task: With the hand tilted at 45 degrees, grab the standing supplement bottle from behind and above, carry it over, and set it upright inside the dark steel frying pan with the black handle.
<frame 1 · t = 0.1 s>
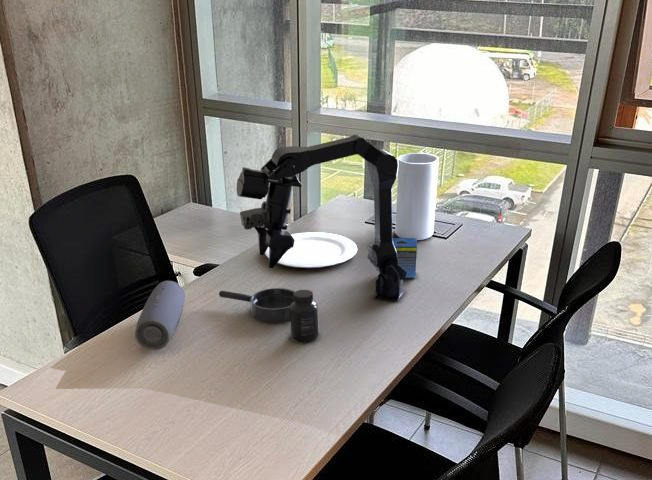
hand: (266, 261, 183), 15 cm above the table, tool pointing down, fingers open, 9 cm apart
bluetooth speaker: (164, 333, 185), on the table
supplement bottle: (304, 337, 180), on the table
cylinder vase: (414, 234, 239), on the table
pan: (275, 312, 192), on the table
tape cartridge: (400, 276, 211), on the table
plate: (311, 254, 227), on the table
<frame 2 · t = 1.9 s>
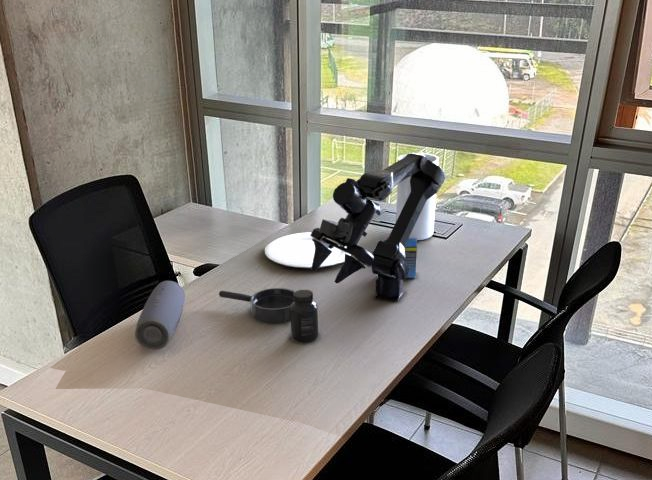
hand: (324, 276, 178), 14 cm above the table, tool tilted 40°, fingers open, 9 cm apart
nothing on the table moved.
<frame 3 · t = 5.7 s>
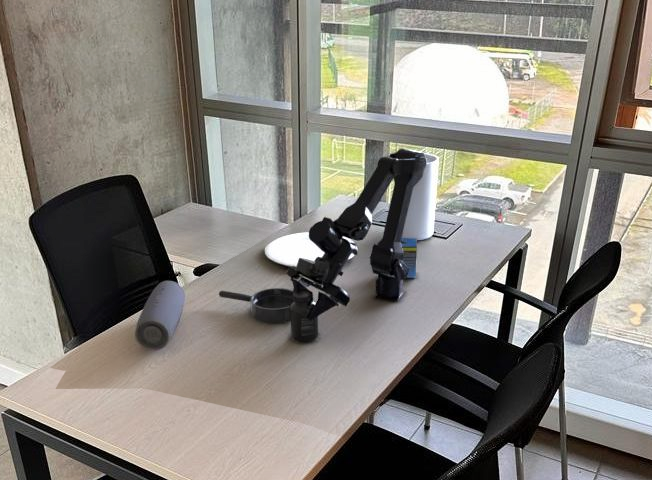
hand: (299, 315, 176), 7 cm above the table, tool tilted 45°, fingers closed on supplement bottle, 7 cm apart
supplement bottle: (304, 337, 180), on the table, touching gripper
everything else where it was.
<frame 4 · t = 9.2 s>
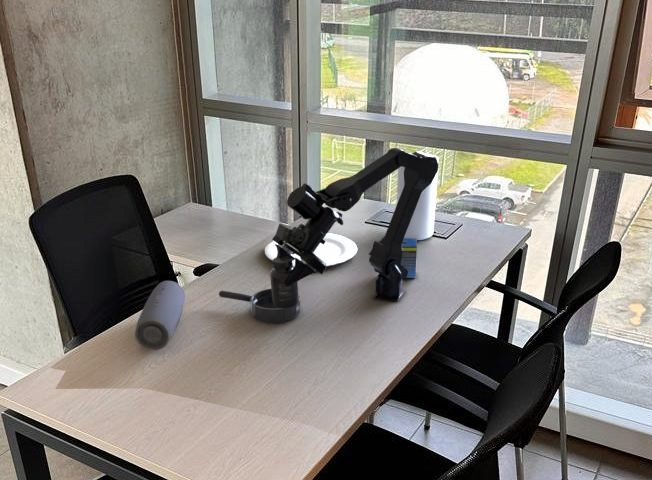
hand: (278, 280, 179), 13 cm above the table, tool tilted 45°, fingers closed on supplement bottle, 7 cm apart
supplement bottle: (285, 303, 183), point 6 cm above the table, touching gripper
everything else where it was.
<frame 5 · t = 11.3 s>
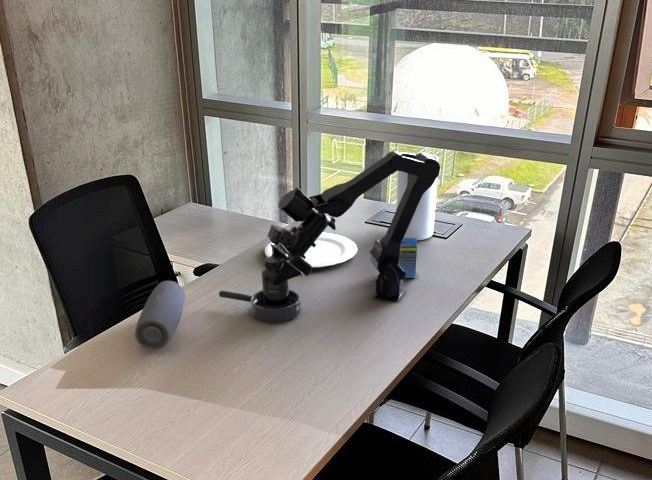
hand: (269, 279, 187), 10 cm above the table, tool tilted 45°, fingers closed on supplement bottle, 7 cm apart
supplement bottle: (276, 302, 191), point 3 cm above the table, touching gripper
everything else where it was.
when the fingers open (7 cm above the table, at t = 12.7 s): supplement bottle stays where it is, resting on pan.
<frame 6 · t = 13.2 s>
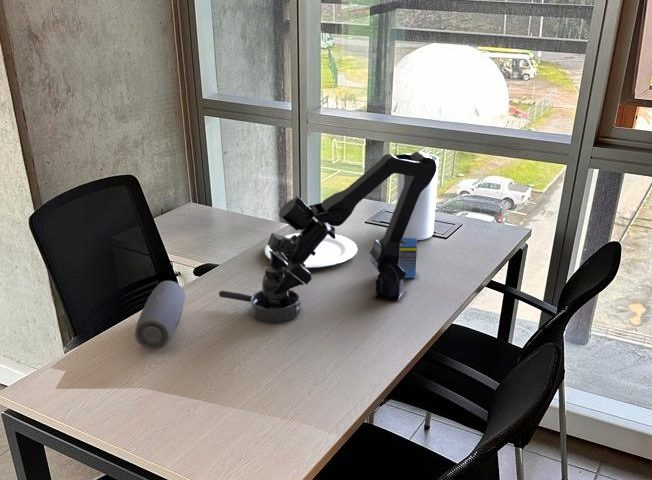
hand: (269, 287, 188), 8 cm above the table, tool tilted 45°, fingers open, 9 cm apart
supplement bottle: (276, 311, 192), resting on pan
everything else where it was.
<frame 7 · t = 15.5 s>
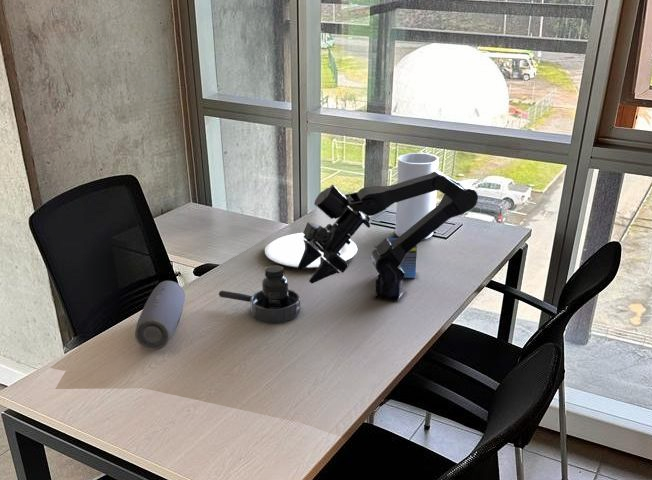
hand: (304, 275, 190), 9 cm above the table, tool tilted 45°, fingers open, 9 cm apart
nothing on the table moved.
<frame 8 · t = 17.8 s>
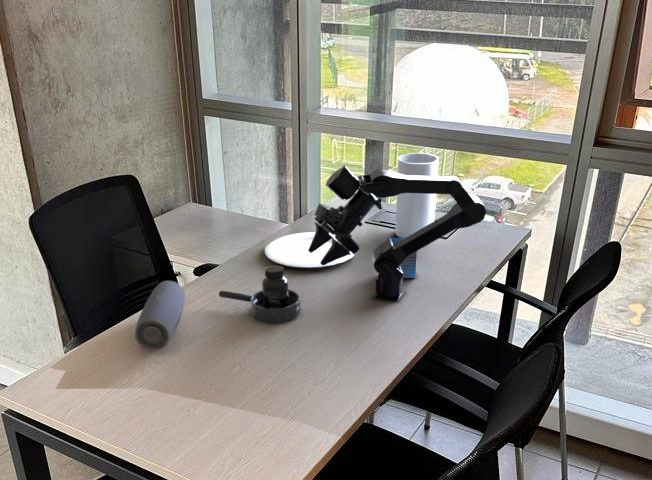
hand: (315, 258, 189), 14 cm above the table, tool tilted 45°, fingers open, 9 cm apart
nothing on the table moved.
at the end: supplement bottle inside the target area in the pan (0.2 cm from its centre), point 0.4 cm above the pan's base; supplement bottle tilted 0°; the gripper is holding nothing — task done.
